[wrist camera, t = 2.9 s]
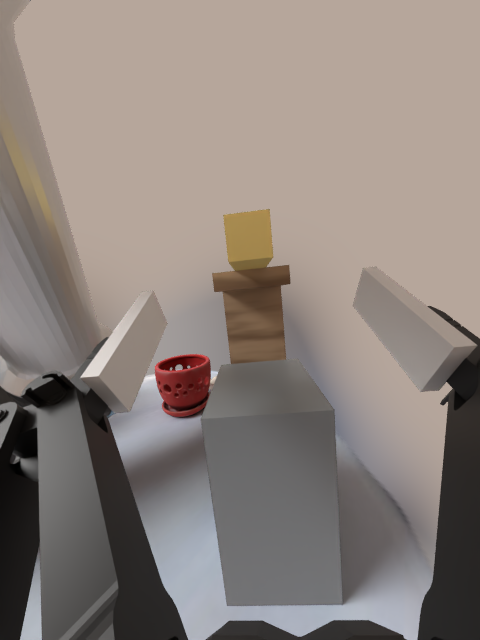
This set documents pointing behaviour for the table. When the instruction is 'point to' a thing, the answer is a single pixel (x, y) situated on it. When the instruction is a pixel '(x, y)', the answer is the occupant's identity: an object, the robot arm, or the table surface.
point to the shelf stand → (254, 312)
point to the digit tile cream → (212, 382)
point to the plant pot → (184, 384)
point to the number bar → (249, 239)
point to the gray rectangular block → (274, 485)
